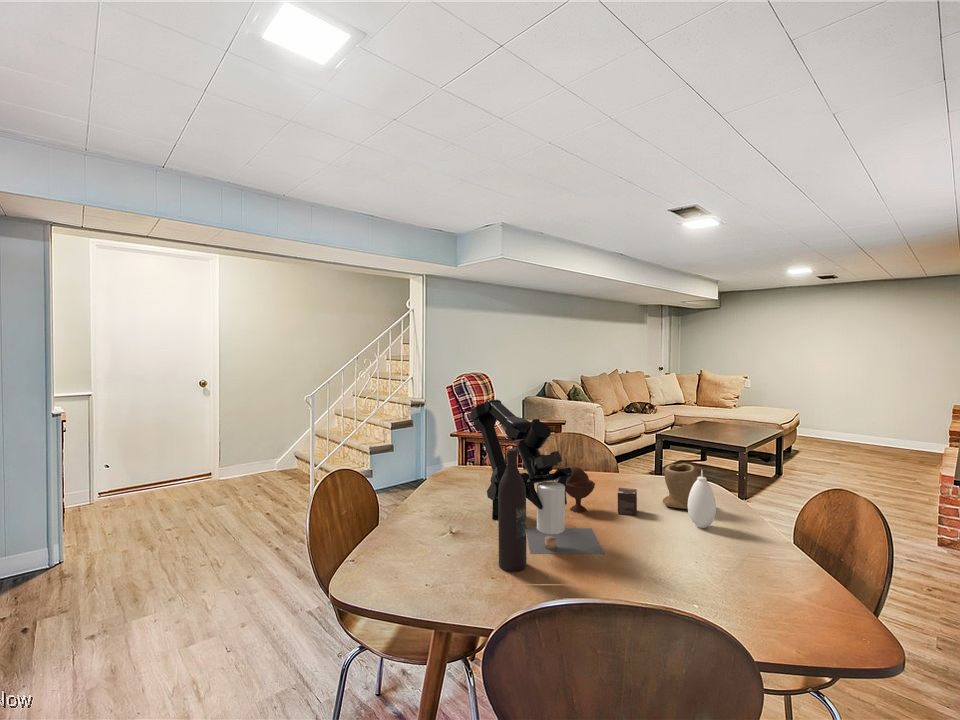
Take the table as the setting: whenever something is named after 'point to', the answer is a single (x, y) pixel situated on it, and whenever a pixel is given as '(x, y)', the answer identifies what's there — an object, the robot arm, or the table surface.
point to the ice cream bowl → (579, 488)
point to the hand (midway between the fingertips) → (553, 506)
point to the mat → (565, 542)
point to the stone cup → (679, 484)
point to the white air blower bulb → (701, 503)
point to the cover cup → (551, 507)
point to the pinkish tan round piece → (551, 543)
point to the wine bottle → (512, 517)
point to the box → (627, 501)
